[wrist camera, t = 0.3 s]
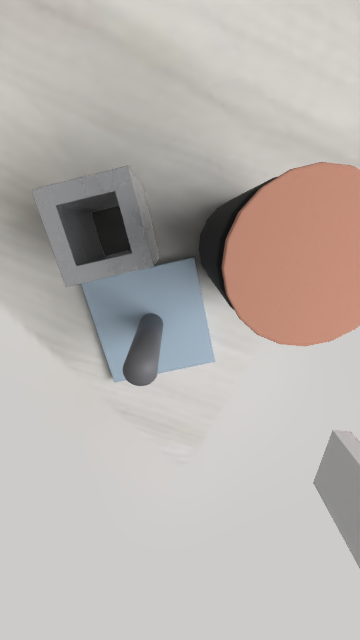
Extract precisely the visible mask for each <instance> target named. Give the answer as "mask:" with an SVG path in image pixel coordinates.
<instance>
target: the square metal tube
mask: <svg viewBox="0 0 360 640" xmlns="http://www.w3.org/2000/svg"><path fill="white" fill-rule="evenodd" d="M31 192H32V194H33V197H34V200H35V203H36V205H37V208H38V211H39V214H40V217H41V219H42V222H43V225H44V228H45V231H46V233H47V236H48V239H49V242H50V244H51V247H52V250H53V253H54V256H55V258H56V261H57V264H58V267H59V269H60V272H61V275H62V278H63V281H64V283H65V286H66V287H68V286H72V285H76V284H81V283H85V282H90V281H94V280H98V279H103V278H107V277H112V276H116V275H120V274H125V273H129V272H134V271H138V270H142V269H147V268H151V267H154V265H155V264H156V262H157V260H158V258H159V256H160V255H159V251H158V247H157V243H156V239H155V234H154V230H153V226H152V222H151V218H150V214H149V209H148V205H147V201H146V197H145V193H144V189H143V185H142V184H141V182H140V181H139V179H138V178H137V177H136V175H135V174H134V173H133V171H132V170H131V169H130V167H129V166H125V167H121V168H117V169H113V170H109V171H105V172H101V173H97V174H93V175H89V176H85V177H81V178H77V179H73V180H69V181H65V182H61V183H57V184H52V185H48V186H44V187H40V188H36V189H32V190H31ZM116 206H120V210H121V214H122V217H123V221H124V225H125V228H126V232H127V236H128V240H129V243H130V247H131V250H127V251H123V252H118V253H114V254H110V255H106V256H104V252H103V249H102V246H101V242H100V239H99V236H98V233H97V229H96V226H95V223H94V219H93V216H92V213H91V212H95V211H100V210H104V209H108V208H112V207H116Z"/></svg>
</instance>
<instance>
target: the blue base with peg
mask: <svg viewBox="0 0 360 640" xmlns="http://www.w3.org/2000/svg"><path fill="white" fill-rule="evenodd" d="M81 285H82V288H83V291H84V294H85V297H86V300H87V303H88V306H89V309H90V312H91V315H92V318H93V321H94V324H95V326H96V329H97V332H98V335H99V338H100V341H101V344H102V347H103V350H104V353H105V356H106V359H107V362H108V365H109V368H110V371H111V374H112V376H113V379H114V382H119V381H124V380H127V381H128V382H130V383H131V384H133V385H137V386H145V385H148V384H150V383H151V382H153V381H154V380H155V378H156V376H157V374H158V373H163V372H167V371H172V370H177V369H182V368H187V367H192V366H197V365H201V364H206V363H211V362H215V359H214V354H213V349H212V344H211V339H210V334H209V329H208V324H207V319H206V314H205V309H204V304H203V299H202V294H201V289H200V285H199V280H198V275H197V270H196V265H195V260H194V257H191V258H187V259H183V260H178V261H174V262H169V263H165V264H161V265H156V266H154V267H151V268H147V269H142V270H138V271H134V272H129V273H125V274H120V275H116V276H112V277H107V278H103V279H98V280H94V281H90V282H85V283H81Z"/></svg>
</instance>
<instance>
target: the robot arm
mask: <svg viewBox="0 0 360 640" xmlns="http://www.w3.org/2000/svg"><path fill="white" fill-rule="evenodd" d="M313 483H314V485H315V487H316V489H317V490H318V492H319V494H320V496H321V498H322V499H323V501H324V503H325V505H326V507H327V509H328V511H329V513H330V515H331V516H332V518H333V520H334V522H335V523H336V525H337V527H338V529H339V531H340V533H341V535H342V537H343V538H344V540H345V542H346V544H347V546H348V548H349V549H350V551H351V553H352V555H353V557H354V559H355V560H356V562H357V564H358V566H359V568H360V441H359V440H358V439H357V438H356V437H355V436H354V435H353V433H352V432H347V431H337V430H333V431H332V433H331V436H330V439H329V442H328V445H327V447H326V450H325V452H324V455H323V458H322V461H321V463H320V466H319V469H318V471H317V474H316V477H315V479H314V482H313Z"/></svg>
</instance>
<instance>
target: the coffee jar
mask: <svg viewBox="0 0 360 640" xmlns="http://www.w3.org/2000/svg"><path fill="white" fill-rule="evenodd" d="M199 252H200V258H201V263H202V265H203V267H204V269H205V271H206V272H207V274H208V276H209V277H210V279H211V280H212V281H213V283H214V284H215V286H216V287H217V288H218V290H219V291H220V293H221V294H222V295H223V297H224V298H225V300H226V301H227V302H228V304H229V305H230V307H231V308H232V309H234V310H235V312H236V314H237V315H238V317H239V319H241V320H242V321H243V322H244V323H245V324H246V325H247V326H248V327H249V328H251V329H252V330H253V331H254V332H255V333H256V334H257V335H260V336H262V337H264V338H267V339H269V340H271V341H274V342H276V343H279V344H286V345H297V346H309V345H314V344H319V343H324V342H329V341H332V340H334V339H336V338H338V337H340V336H342V335H344V334H346V333H348V332H350V331H352V330H354V329H356V328H357V327H358V326H359V325H360V170H359V169H358V168H356V167H354V166H351V165H342V164H334V163H326V162H320V163H315V164H311V165H307V166H303V167H299V168H294V169H290V170H289V171H287V172H285V173H284V174H282V175H280V176H279V177H275V178H272V179H270V180H268V181H266V182H265V183H263V184H261V185H259V186H257V187H255V188H253V189H251V190H249V191H247V192H245V193H243V194H241V195H239V196H238V197H236V198H234V199H232V200H230V201H228V202H227V203H225V204H223V205H222V206H220V207H219V208H217V209H216V210H215V211H214V213H213V214H212V215H211V216H210V217H209V218H208V220H207V221H206V224H205V226H204V228H203V230H202V233H201V236H200V245H199Z"/></svg>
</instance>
